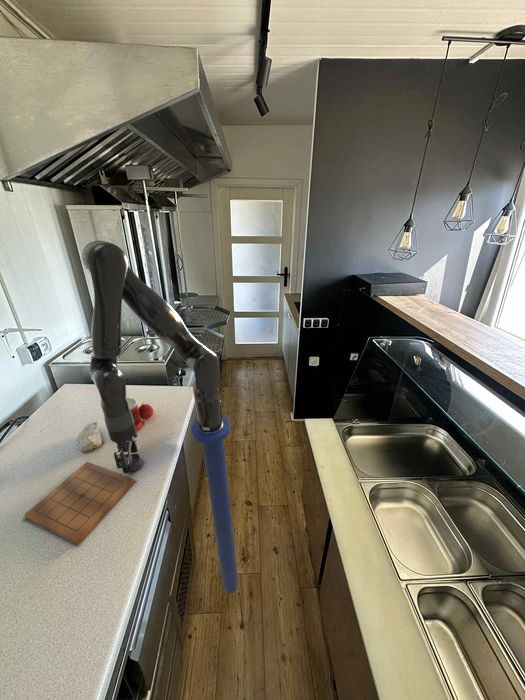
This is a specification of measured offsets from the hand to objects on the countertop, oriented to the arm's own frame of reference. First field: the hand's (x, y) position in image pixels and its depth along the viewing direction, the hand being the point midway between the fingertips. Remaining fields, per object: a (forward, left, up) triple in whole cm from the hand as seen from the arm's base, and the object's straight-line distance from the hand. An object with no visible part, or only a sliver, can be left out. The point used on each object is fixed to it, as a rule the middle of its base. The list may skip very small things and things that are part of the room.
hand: (131, 461), depth 94 cm
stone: (-3, -23, -2) cm, 23 cm away
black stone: (0, 0, -2) cm, 2 cm away
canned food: (-15, -15, -2) cm, 21 cm away
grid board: (+15, -5, -2) cm, 16 cm away
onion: (-21, -12, -2) cm, 24 cm away
